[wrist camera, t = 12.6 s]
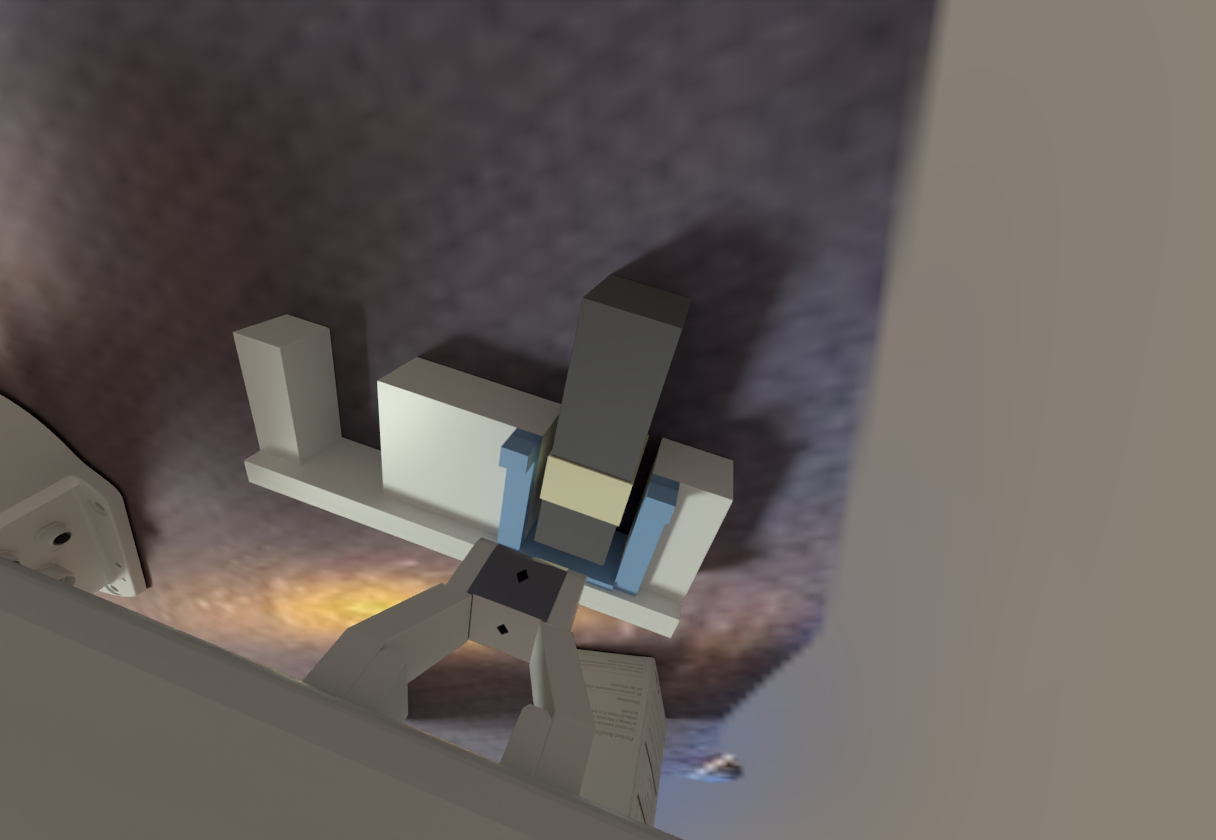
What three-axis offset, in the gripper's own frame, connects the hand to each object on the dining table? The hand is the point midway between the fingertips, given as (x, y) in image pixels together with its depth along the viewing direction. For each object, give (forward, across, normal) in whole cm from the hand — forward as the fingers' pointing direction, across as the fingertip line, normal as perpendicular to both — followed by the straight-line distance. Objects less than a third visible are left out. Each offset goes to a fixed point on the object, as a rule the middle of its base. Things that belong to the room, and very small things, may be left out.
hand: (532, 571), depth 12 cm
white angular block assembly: (+11, +6, +6) cm, 14 cm away
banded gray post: (+11, 0, +1) cm, 11 cm away
